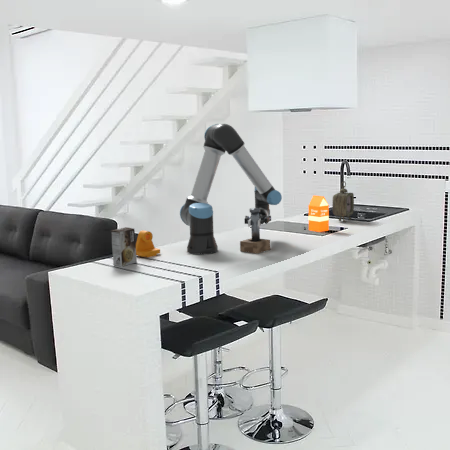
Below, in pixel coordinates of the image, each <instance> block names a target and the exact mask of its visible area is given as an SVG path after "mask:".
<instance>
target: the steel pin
mask: <svg viewBox="0 0 450 450" xmlns="http://www.w3.org/2000/svg"><path fill="white" fill-rule="evenodd" d="M248 211H249V213H250V216H251V226H250V227H251V238H252V242H258V241H260V239H261V235H260V232H261V231H260V229H261V228H260V226H259V227H258V220H259V212H260V208H255V207H251V208H249V209H248Z"/></svg>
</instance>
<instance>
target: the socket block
mask: <svg viewBox="0 0 450 450" xmlns="http://www.w3.org/2000/svg"><path fill="white" fill-rule="evenodd" d="M239 248H240V249H239V251H240V252H241V253H243V252H244V253H249V254H256V255H257V254H260V253H264V251H265V252H268V251H271V239H266V238H260V241H258V242H252V237H251V238H247V239H242V240H240V241H239Z"/></svg>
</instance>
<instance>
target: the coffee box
mask: <svg viewBox="0 0 450 450" xmlns="http://www.w3.org/2000/svg"><path fill="white" fill-rule="evenodd" d="M110 234H111V248H112V249H111V250H112V262H113V263H112V264H113V266H118V267H124V266H128V265H132V264H135V263H138V262H137V260H138V259H137V258H138V257H137V255H136V235H135V234H136V233H135V228H134V227H133V228H132V227H121V228H116V229H111V230H110Z"/></svg>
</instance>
